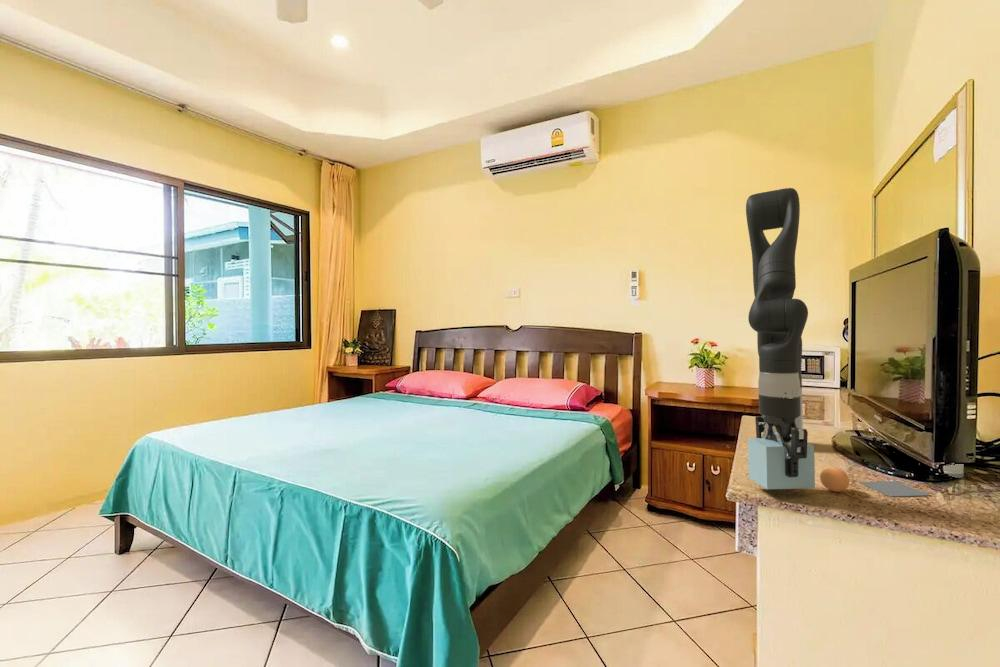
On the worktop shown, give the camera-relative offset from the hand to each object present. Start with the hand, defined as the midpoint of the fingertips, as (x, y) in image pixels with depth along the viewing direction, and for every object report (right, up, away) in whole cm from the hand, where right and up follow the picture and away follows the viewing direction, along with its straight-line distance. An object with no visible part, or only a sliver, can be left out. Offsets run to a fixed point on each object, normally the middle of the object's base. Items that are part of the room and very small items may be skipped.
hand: (780, 470), depth 93 cm
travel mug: (+43, -3, +8) cm, 44 cm away
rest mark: (+24, -4, 0) cm, 24 cm away
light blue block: (0, -3, 0) cm, 3 cm away
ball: (+12, -2, 0) cm, 12 cm away
